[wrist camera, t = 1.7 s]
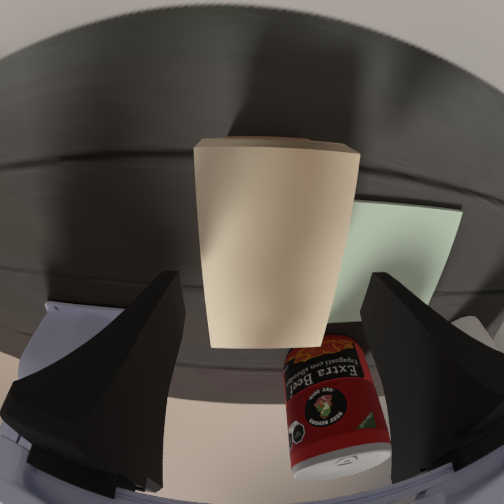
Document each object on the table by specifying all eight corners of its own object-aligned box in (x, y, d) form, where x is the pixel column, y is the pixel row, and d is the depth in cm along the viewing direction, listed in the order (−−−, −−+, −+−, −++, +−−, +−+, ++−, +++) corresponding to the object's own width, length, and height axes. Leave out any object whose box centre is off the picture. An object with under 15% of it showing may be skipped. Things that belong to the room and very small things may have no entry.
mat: (305, 320, 22) (305, 323, 21) (324, 197, 16) (326, 200, 16) (420, 312, 22) (422, 315, 21) (459, 209, 17) (462, 212, 16)
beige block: (214, 321, 16) (211, 347, 14) (202, 138, 11) (193, 147, 9) (314, 320, 16) (320, 346, 14) (343, 143, 11) (360, 153, 9)
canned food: (354, 319, 22) (393, 441, 12) (366, 366, 26) (393, 461, 16) (268, 349, 23) (275, 471, 14) (296, 389, 27) (307, 484, 18)
